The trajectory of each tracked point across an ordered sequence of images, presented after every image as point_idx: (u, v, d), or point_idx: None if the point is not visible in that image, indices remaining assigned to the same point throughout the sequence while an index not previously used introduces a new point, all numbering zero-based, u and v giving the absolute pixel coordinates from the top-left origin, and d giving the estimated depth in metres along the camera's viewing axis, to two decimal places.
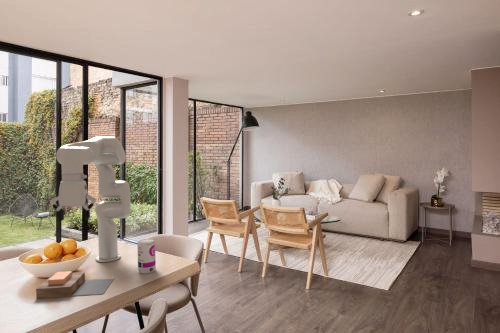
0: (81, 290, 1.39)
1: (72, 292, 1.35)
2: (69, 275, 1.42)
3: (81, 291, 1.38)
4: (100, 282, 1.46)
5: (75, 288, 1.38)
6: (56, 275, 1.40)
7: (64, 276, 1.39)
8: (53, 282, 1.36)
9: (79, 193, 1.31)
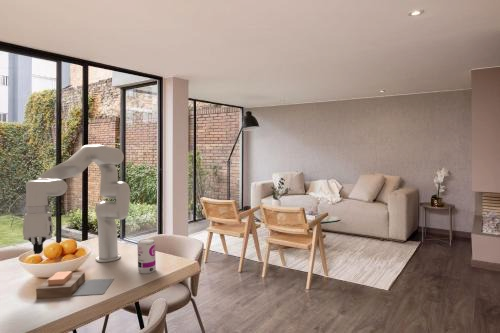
0: (81, 290, 1.39)
1: (72, 292, 1.35)
2: (69, 275, 1.42)
3: (81, 291, 1.38)
4: (100, 282, 1.46)
5: (75, 288, 1.38)
6: (56, 275, 1.40)
7: (64, 276, 1.39)
8: (53, 282, 1.36)
9: (43, 225, 1.36)
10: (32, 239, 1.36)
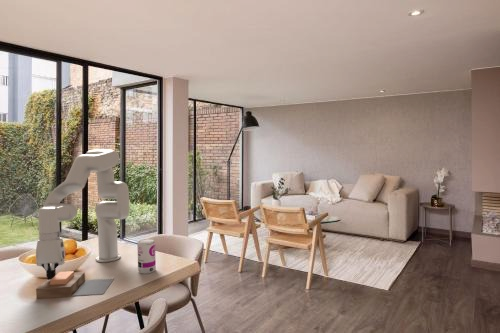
0: (81, 290, 1.39)
1: (72, 292, 1.35)
2: (71, 275, 1.42)
3: (81, 291, 1.38)
4: (100, 282, 1.46)
5: (75, 288, 1.38)
6: (58, 275, 1.40)
7: (66, 276, 1.39)
8: (55, 282, 1.36)
9: (55, 251, 1.37)
10: (45, 265, 1.38)
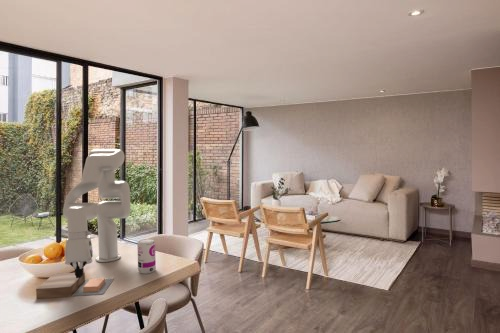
0: (81, 290, 1.39)
1: (72, 292, 1.35)
2: None
3: (81, 291, 1.38)
4: None
5: (75, 288, 1.38)
6: None
7: None
8: (93, 288, 1.38)
9: (84, 250, 1.39)
10: (74, 264, 1.40)
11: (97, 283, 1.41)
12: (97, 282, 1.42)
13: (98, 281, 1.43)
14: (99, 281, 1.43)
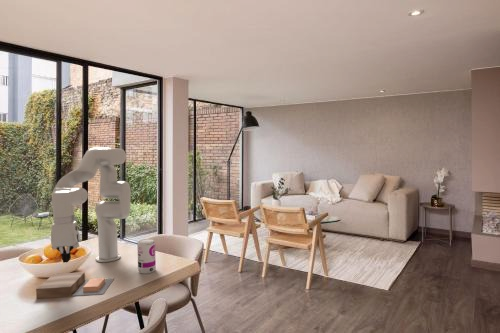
0: (81, 290, 1.39)
1: (72, 292, 1.35)
2: None
3: (81, 291, 1.38)
4: None
5: (75, 288, 1.38)
6: None
7: None
8: (93, 288, 1.38)
9: (70, 234, 1.38)
10: (60, 248, 1.39)
11: (97, 283, 1.41)
12: (97, 282, 1.42)
13: (98, 281, 1.43)
14: (99, 281, 1.43)
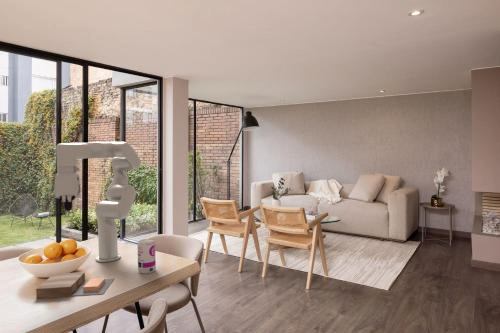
0: (81, 290, 1.39)
1: (72, 292, 1.35)
2: None
3: (81, 291, 1.38)
4: None
5: (75, 288, 1.38)
6: None
7: None
8: (93, 288, 1.38)
9: (72, 184, 1.49)
10: (63, 197, 1.49)
11: (97, 283, 1.41)
12: (97, 282, 1.42)
13: (98, 281, 1.43)
14: (99, 281, 1.43)
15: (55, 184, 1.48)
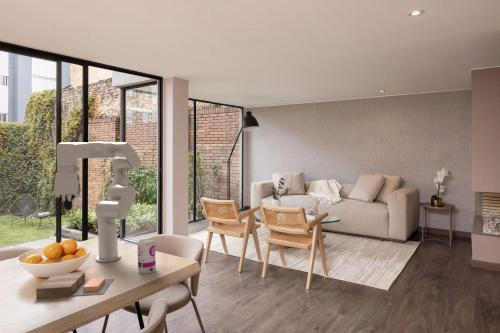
0: (81, 290, 1.39)
1: (72, 292, 1.35)
2: None
3: (81, 291, 1.38)
4: None
5: (75, 288, 1.38)
6: None
7: None
8: (93, 288, 1.38)
9: (72, 183, 1.49)
10: (63, 196, 1.50)
11: (97, 283, 1.41)
12: (97, 282, 1.42)
13: (98, 281, 1.43)
14: (99, 281, 1.43)
15: (55, 183, 1.48)
